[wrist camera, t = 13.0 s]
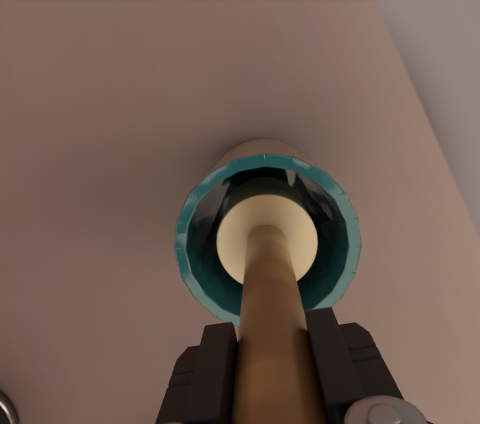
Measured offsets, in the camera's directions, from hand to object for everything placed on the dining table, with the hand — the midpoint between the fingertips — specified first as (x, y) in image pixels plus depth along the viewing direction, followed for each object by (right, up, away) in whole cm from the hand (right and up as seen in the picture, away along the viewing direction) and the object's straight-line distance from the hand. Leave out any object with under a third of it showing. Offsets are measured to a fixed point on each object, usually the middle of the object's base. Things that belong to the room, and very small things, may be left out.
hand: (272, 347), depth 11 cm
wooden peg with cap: (+1, +3, +15) cm, 15 cm away
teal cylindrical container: (+1, +5, +22) cm, 22 cm away
